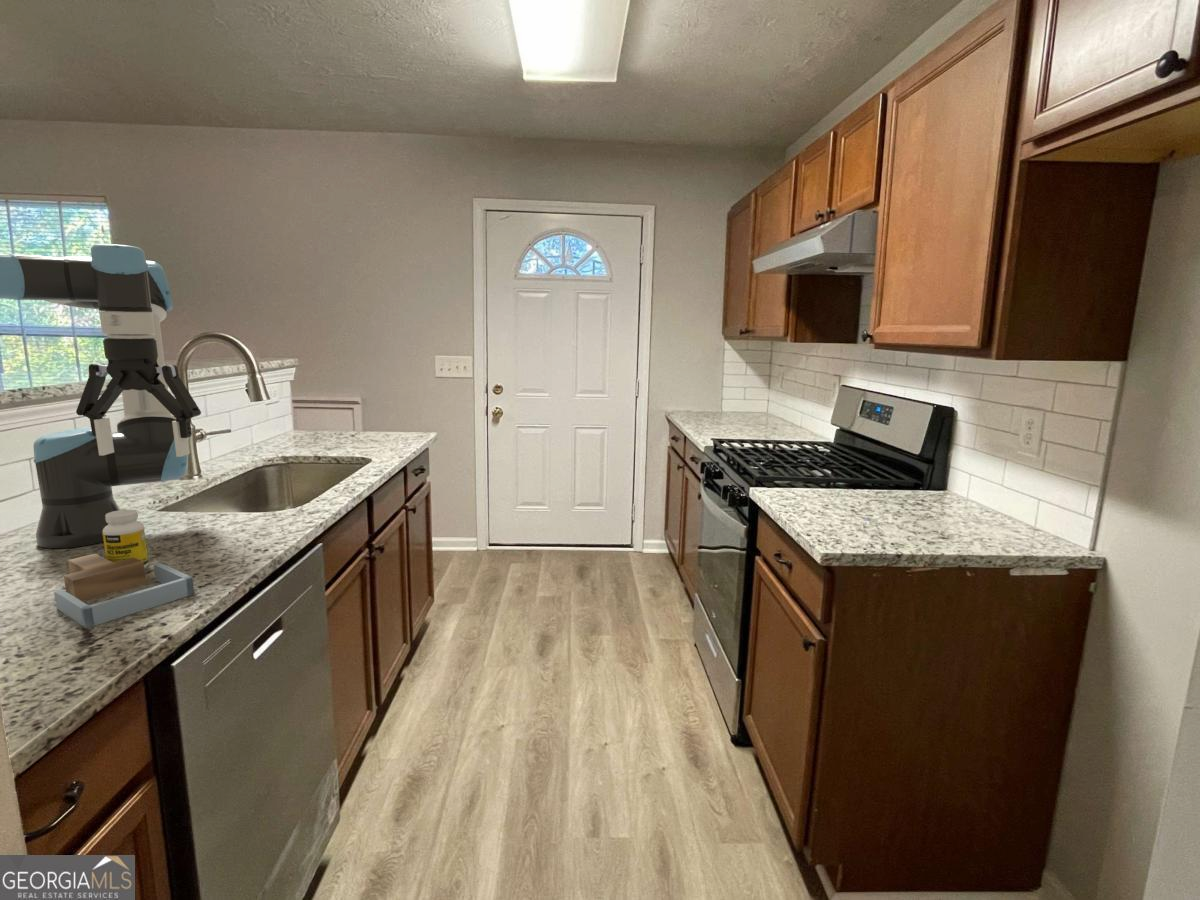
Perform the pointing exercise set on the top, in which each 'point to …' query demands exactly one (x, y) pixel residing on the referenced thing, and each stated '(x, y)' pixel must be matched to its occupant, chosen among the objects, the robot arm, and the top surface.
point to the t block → (102, 576)
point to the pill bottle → (124, 537)
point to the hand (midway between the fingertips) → (145, 454)
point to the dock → (127, 599)
